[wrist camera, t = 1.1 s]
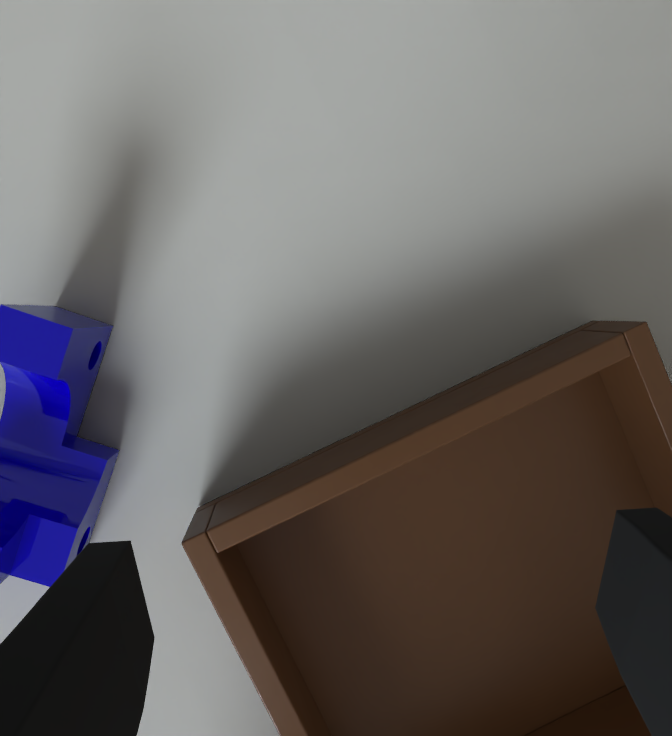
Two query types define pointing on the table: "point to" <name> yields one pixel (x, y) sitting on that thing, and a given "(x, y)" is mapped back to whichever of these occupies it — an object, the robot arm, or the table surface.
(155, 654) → the table surface
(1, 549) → the cable holder
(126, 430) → the table surface
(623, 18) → the table surface
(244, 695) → the table surface
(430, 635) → the tray
